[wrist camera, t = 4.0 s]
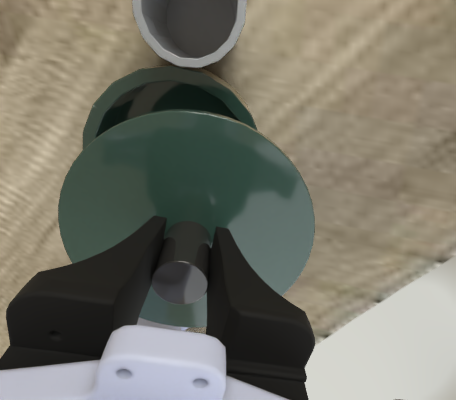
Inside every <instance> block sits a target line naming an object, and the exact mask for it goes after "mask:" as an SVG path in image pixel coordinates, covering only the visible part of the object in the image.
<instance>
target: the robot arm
mask: <svg viewBox="0 0 456 400" xmlns="http://www.w3.org/2000/svg"><path fill="white" fill-rule="evenodd" d="M166 221H167V218H165V217H160V216H153V217H151V218H150V219H149V220H148V221H147V222H146V223H145V224H144V225H142V226H141V227H140V228H139V229H138V230H136V231H135V232H134V233H132V234H131V235H130V236H128V237H127V238H125V239H124V240H122V241H121V242H120V243H118V244H116V245H115V246H113V247H111V248H109V249H108V250H106V251H104V252H101V253H99V254H97V255H94V256H92V257H90V258H87V259H85V260H82V261H79V262H76V263H73V264H70V265H67V266H63V267H59V268H55V269H50V270H46V271H41V272H38V273H37V274H36V275H35V276H34V277H33V278H32V279H31V280H30V281H29V282H28V283H27V284H26V285H25V286H24V287H23V288H22V289H21V291H20V292H19V293H18V294H17V295H16V296H15V298H14V299H13V300H12V301H11V302H10V304H9V306H8V308H7V310H6V320H7V326H8V333H9V339H10V346H9V348H8V349H7V350H6V352H5V353H4V354H3V356H2V357H1V359H0V400H308V396H307V392H306V388H305V384H304V382H306V379H307V376H306V373H305V369H304V368H305V365H306V364H307V362H308V360H309V358H310V355H311V353H312V351H313V349H314V346H315V337H314V334H313V331H312V328H311V325H310V322H309V320H308V318H307V316H306V313H305V312H304V311H303V310H301V309H300V308H298V307H296V306H295V305H293V304H292V303H290V302H289V301H287V300H286V299H284V298H283V297H282V296H281V295H279V294H278V293H277V292H275V291H274V290H273V289H272V288H271V287H270V286H269V285H268V284H267V283H265V282H264V281H263V280H262V279H261V278H260V276H259V275H258V274H257V273H256V272H255V271H254V270H253V268H252V267H251V266H250V265H249V263H248V262H247V260H246V259H245V257H244V256H243V254H242V253H241V251H240V249H239V248H238V246H237V244H236V242H235V240H234V238H233V236H232V234H231V232H230V230H229V229H228V228H222V227H217V226H216V229H215V234H214V238H213V243H212V247H211V256H210V271H209V285H208V290H207V327H206V334H203V333H196V332H189V331H184V330H186V329H187V328H189V327H176V326H170V325H164V324H159V323H155V322H151V321H148V320H145V319H142V318H139V315H140V312H141V309H142V307H143V304H144V302H145V299H146V297H147V294H148V292H149V289H150V287H151V285H152V282H151V280H152V275H153V272H154V269H155V266H156V263H157V259H158V256H159V254H160V251H161V247H162V244H163V241H164V235H165V228H166ZM396 400H400V399H396Z"/></svg>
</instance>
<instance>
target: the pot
mask: <svg viewBox="0 0 456 400" xmlns="http://www.w3.org/2000/svg"><path fill="white" fill-rule="evenodd" d="M171 109H190V110H199V111H207V112H211V113H215V114H219V115H223V116H227V117H230V118H232V119H234V120H237V121H239V122H242V123H244V124H246V125H248V126H250V127H252V128H253V129H255V130H257V128H256V125H255V123H254V120H253V118H252V115H251V113H250V110H249V108H248V106H247V104H246V103H245V102H244V101H243V100H242V98H241V97H240V96H239V94H238V93H237V92H236V91H235V90H234V89H233V87H232V86H231V85H230V84H228V83H227V82H225V81H224V80H223V79H221V78H219V77H218V76H216V75H215V74H213V73H211V72H209V71H208V70H205V69H201V68H190V67H179V66H176V65H174V64H170V65H161V66H153V67H148V68H142V69H139V70H137V71H135V72H133V73H131V74H129V75H127V76H125V77H123V78H121V79H119V80H117V81H115V82H113V83H112V84H111V85H110V86H109V87H108V88H107V89H106V91H105V92H104V93H103V94H102V95H101V96H100V97H99V98H98V99H97V101H96V102H95V103H94V105H93V106H92V109H91V111H90V114H89V117H88V119H87V122H86V125H85V127H84V131H83V150H84V149H85V148H86V147H87V146H88V145H89V144H90V143H91V142H92V141H93V140H94V139H96V138H97V137H98V136H100V135H101V134H103V133H104V132H106V131H107V130H109V129H110V128H112V127H113V126H115V125H117V124H119V123H121V122H123V121H125V120H128V119H130V118H132V117H136V116H139V115H142V114H146V113H149V112H156V111H162V110H171ZM257 131H258V130H257Z"/></svg>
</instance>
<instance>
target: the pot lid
mask: <svg viewBox="0 0 456 400" xmlns="http://www.w3.org/2000/svg"><path fill="white" fill-rule="evenodd" d="M153 216H160V217H165V218H167V221H166V228H165V235H164V241H163V244H162V247H161V251H160V254H159V256H158V259H157V263H156V266H155V269H154V272H153V275H152V280H151V282H152V285H151V287H150V289H149V292H148V294H147V297H146V299H145V302H144V304H143V307H142V309H141V312H140V315H139V318H142V319H145V320H148V321H151V322H155V323H159V324H164V325H170V326H176V327H207V290H208V285H209V271H210V256H211V247H212V243H213V238H214V234H215V229H216V226H217V227H222V228H228V229H229V230H230V232H231V234H232V236H233V238H234V240H235V242H236V244H237V246H238V248H239V249H240V251H241V253H242V254H243V256H244V257H245V259H246V260H247V262H248V263H249V265H250V266H251V267H252V268H253V270H254V271H255V272H256V273H257V274H258V275H259V276H260V278H261V279H262V280H263V281H264V282H265V283H267V284H268V285H269V286H270V287H271V288H272V289H273V290H274V291H275V292H277V293H278V294H279V295H281V296H282V295H283V294H285V293H286V292H287V291H288V290H289V288H290V287H291V286H292V285H293V284H294V283H295V281H296V280H297V279H298V277H299V275H300V274H301V272H302V271H303V269H304V267H305V265H306V263H307V261H308V259H309V255H310V252H311V249H312V246H313V239H314V233H315V217H314V211H313V205H312V201H311V198H310V195H309V192H308V189H307V186H306V184H305V183H304V181H303V179H302V177H301V175H300V173H299V171H298V170H297V168H296V167H295V166H294V164H293V163H292V161H291V160H290V159H289V157H288V156H287V155H286V154H285V153H284V152H283V151H282V150H281V149H280V148H279V147H278V146H277V145H276V144H275V143H274V142H272V141H271V140H270V139H268V138H267V137H266V136H265V135H263V134H262V133H260V132H259V131H257V130H255V129H253V128H252V127H250V126H248V125H246V124H244V123H242V122H239V121H237V120H234V119H232V118H230V117H227V116H223V115H219V114H215V113H211V112H207V111H199V110H190V109H171V110H162V111H156V112H149V113H146V114H142V115H139V116H136V117H132V118H130V119H128V120H125V121H123V122H121V123H119V124H117V125H115V126H113V127H112V128H110V129H109V130H107V131H106V132H104V133H103V134H101V135H100V136H98V137H97V138H96V139H94V140H93V141H92V142H91V143H90V144H89V145H88V146H87V147H86V148H85V149H84V150H83V151H82V152H81V153H80V155H79V156H78V157H77V159H76V160H75V161H74V162H73V164H72V166H71V168H70V170H69V172H68V173H67V175H66V177H65V180H64V183H63V186H62V189H61V193H60V199H59V205H58V221H59V228H60V234H61V238H62V241H63V244H64V247H65V250H66V252H67V254H68V256H69V258H70V260H71V262H72V263H76V262H79V261H82V260H85V259H87V258H90V257H92V256H94V255H97V254H99V253H101V252H104V251H106V250H108V249H109V248H111V247H113V246H115V245H116V244H118V243H120V242H121V241H122V240H124V239H125V238H127V237H128V236H130V235H131V234H132V233H134V232H135V231H136V230H138V229H139V228H140V227H141V226H142V225H144V224H145V223H146V222H147V221H148V220H149V219H150V218H151V217H153Z"/></svg>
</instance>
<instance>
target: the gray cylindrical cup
mask: <svg viewBox="0 0 456 400" xmlns="http://www.w3.org/2000/svg"><path fill="white" fill-rule="evenodd" d="M246 4H247V0H132V6H133V15H134V18H135V20H136V23H137V25H138V28H139V30H140V33H141V35H142V37H143V39H144V40H145V41H146V42H147V44H148V45H149V46H150V47H151V48H152V49H153V50H154V52H155V53H156V54H157V55H158V56H159V57H161V58H163V59H165V60H167V61H169V62H171V63H172V64H174V65H176V66H179V67H190V68H201V67H204V66H207V65H209V64H212V63H215V62H217V61H219V60H220V59H221V58H222V57H223V56H224V55H226V54H227V53H228V52H229V51H230V50H231V49H232V48H233V47H234V45H235V44H236V42H237V40H238V37H239V35H240V33H241V31H242V29H243V26H244V23H245V16H246Z"/></svg>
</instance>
